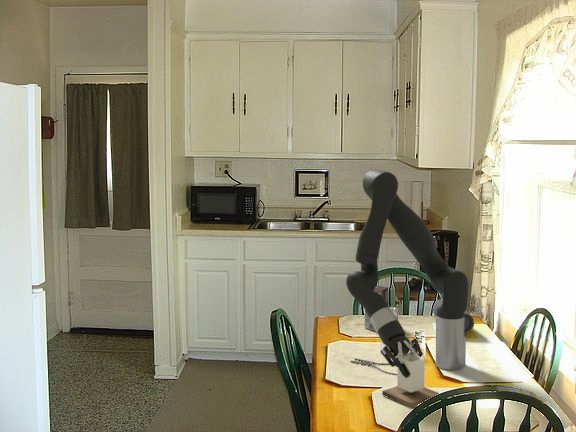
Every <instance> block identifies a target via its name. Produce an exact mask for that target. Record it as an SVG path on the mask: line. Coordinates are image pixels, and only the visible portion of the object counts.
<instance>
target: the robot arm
mask: <svg viewBox="0 0 576 432" xmlns="http://www.w3.org/2000/svg"><path fill="white" fill-rule="evenodd" d="M362 188H363V190H364V193H365V194H366V196H368V198H370V200H371V207H370V211H369V214H368V217H367V219H366V222H365V223H364V226H363V228H362V230H361V232H360V235H359V238H358V242H357V248H356V252H355V253H356V254H355V260H356V262H357V263H359V264H360V270H357V271H356V270H355V271H352V272H350V273H348V274H347V276H346V280H345V282H346V288H347V290H348V292H349V294H350V295H351V296H352V297H353V298H354V299H355V300H356V301H357V303H358V304H359V305H361V306H362V307H363V309H364V312H365V311H366V313H367V314H368V316H369V318H370V320H371V322H372V324H373V326H374V328H375V330H376V331H375V330H374V331H375V332H376V333H377V335H378V337H379V339H380V341H381V340H382V342H383V344H384V345H386V346H385V347H384V348H383V349H382V350H380V353H381V355H382V356H383V358H384V359H385V360H386V361H387V363H389V364H390V365H389V366H391V368H394V367H396V368H397V369H398V368H399V370H400V371H401V373H402V375H403V376H404V377H405V378H407V377H409V376H410V372H409V370H408V369H407V367H406V365H405V364H403V358H402V357H403V356H406V355H414V356H418V357H421V358H422V357H423V355H424V353H423V350H422V349H421V347H420V344H419V342H418V339H417V338H416V337H414V338H413V339H409V338H408V337H407V336H406V331H405V329H404V327H403V326H402V324H401V323H400V321H399V318H398V319H397V318H396V316H395V314H394V313H393V312H392V310H391V309H390V308H389V307H390V306H388V304H387V303H386V301H385V299H384V298H383V296H382V295H380V294H378V293H375V292H374V289H375V288H376V286H378V282H379V266H378V260H379V259H378V258H379V256H380V255H379V254H380V250H381V249H380V248H381V243H382V238H383V235H384V231H385V228H386V224H387V221H388V222H389V225H391V227H392V228H393V230H394V232H395V233H396V235H397V236H398V237H399V239H400V240H401V242H402V243H403V245H404V246H405V247H406V248H407V249H408V251H409V252H410V253H411V255H412V256H413V257H414V259H415V260H416V261H417V262H418V264H420V266H421V267H422V269H423V271H424V273H425V274H426V276H427V278H428V279H429V281H430V283H431V285H432V286H433V288H434V289H435V291H437V292H438V293H440V294H442V299H443V302H442V305H439V306H438V307H437V309H436V316H435V324H436V325H435V326H436V327H435V366H436V367H437V368H439V369H442V370H447V371H448V370H449V371H450V370H451V371H453V370H454V371H455V370H460V369H463V368H464V366H465V365H466V353H467V349H466V348H467V347H466V346H467V338H466V337H465V334H464V315H465V311H466V310H467V307H468V302H469V301H468V299H469V298H468V297H469V280H468V276H467V274H465V272H463V271H461V270H458V269H457V268H453V267H451V266H450V265H448V264H447V262H446V261H445V260H444V258H442V256H441V254H440V253H439V252H438V248H437V246H436V245H437V244H436V241H435V237H434V236H433V234H432V232H431V230H430V228H429V227H428V225H426V223H425V222H424V220H423V219H422V218H421V217H420V216H419V215H418V214H417V213H416V212H415V211H414V210H413V209H411V208H410V207H409V206H408V205H407V204H406V203H405V202H404V201H403V200H402V199H401V197H400V196H399V195H398V190H399V189H398V188H399V180H398V179H397V177H396V175H394V173H392V172H390V171H385V170H381V169H373V170H370V171H368V172H366V173H365V175H364V176H363V179H362ZM398 359H399V361H398Z"/></svg>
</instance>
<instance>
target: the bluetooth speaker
mask: <svg viewBox="0 0 576 432" xmlns="http://www.w3.org/2000/svg"><path fill="white" fill-rule="evenodd" d="M442 302H443V298H440V299H437V300H436V301H435V303H434V304H433V306H432V313H433V315H434V316H435V317H436V309H437V307H438V306H439V305H442ZM474 326H475V321H474V317H473V316H472V315H471V313H469V312H468V311H466V310H465V315H464V335H466V334H468V333H470V332H471V331H473V329H474Z"/></svg>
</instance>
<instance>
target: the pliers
mask: <svg viewBox="0 0 576 432" xmlns="http://www.w3.org/2000/svg"><path fill="white" fill-rule="evenodd" d="M354 359H355V360H354ZM356 360H359V361H356ZM360 361H361V362H360ZM362 361H364V362H362ZM351 362H353V363H352V364H355V363H356V364H355V365H358V364H361V365H360V366H365V365H368V366H367V367H370V366H372V367H371V368H373V367H374V368H373V369H375V368H377V369H378V370H377V369H376V370H377V371H379V370H380V371H379V372H381V371H382V372H381V373H383V372H385V373H384V374H387V373H388V375H391V374H392V375H393V376H398V373H394V372H389V371H385V370H383V369H381V368H379V367H378V366H391V365H390V364H389V363H388V362H387V363H386V362H375V361H371V360H368V359H367V360H365V359H360V358H353V360H350V363H351ZM372 364H378V365H372Z"/></svg>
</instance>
